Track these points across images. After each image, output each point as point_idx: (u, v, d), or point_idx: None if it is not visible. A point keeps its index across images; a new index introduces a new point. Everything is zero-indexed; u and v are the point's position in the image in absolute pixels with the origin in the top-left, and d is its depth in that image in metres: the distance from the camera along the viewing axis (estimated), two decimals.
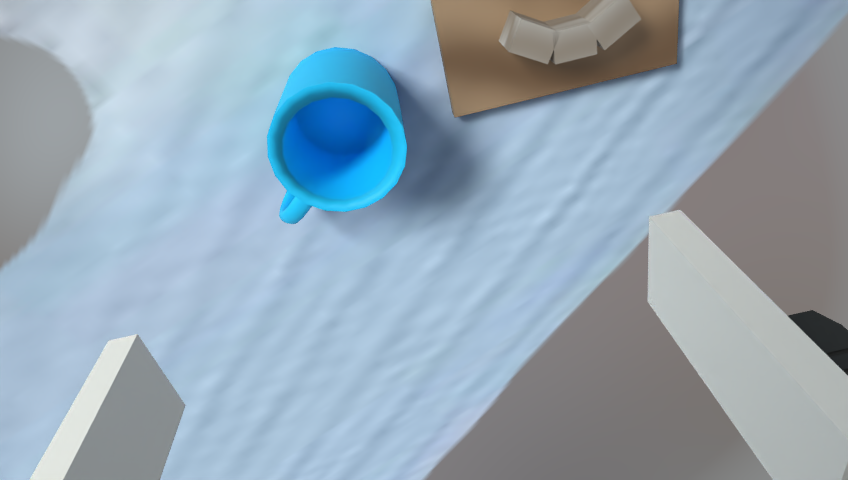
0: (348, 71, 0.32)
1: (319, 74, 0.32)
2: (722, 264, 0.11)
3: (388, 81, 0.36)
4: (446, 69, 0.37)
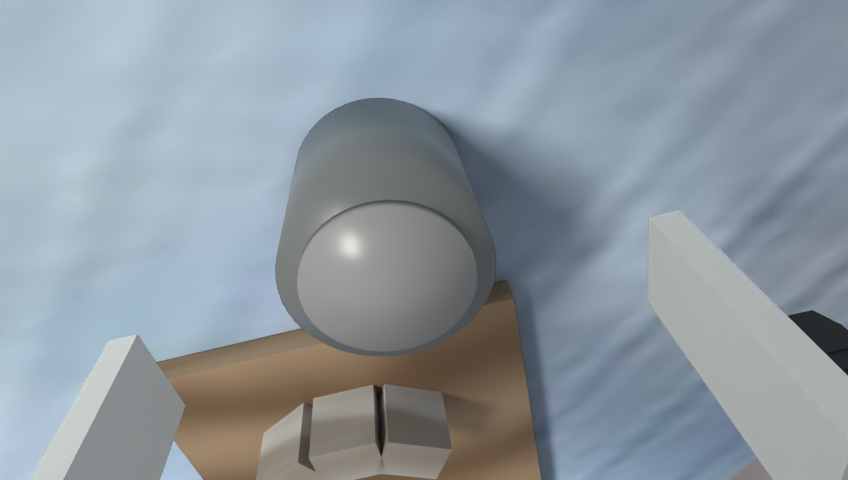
0: None
1: None
2: (722, 264, 0.11)
3: None
4: None
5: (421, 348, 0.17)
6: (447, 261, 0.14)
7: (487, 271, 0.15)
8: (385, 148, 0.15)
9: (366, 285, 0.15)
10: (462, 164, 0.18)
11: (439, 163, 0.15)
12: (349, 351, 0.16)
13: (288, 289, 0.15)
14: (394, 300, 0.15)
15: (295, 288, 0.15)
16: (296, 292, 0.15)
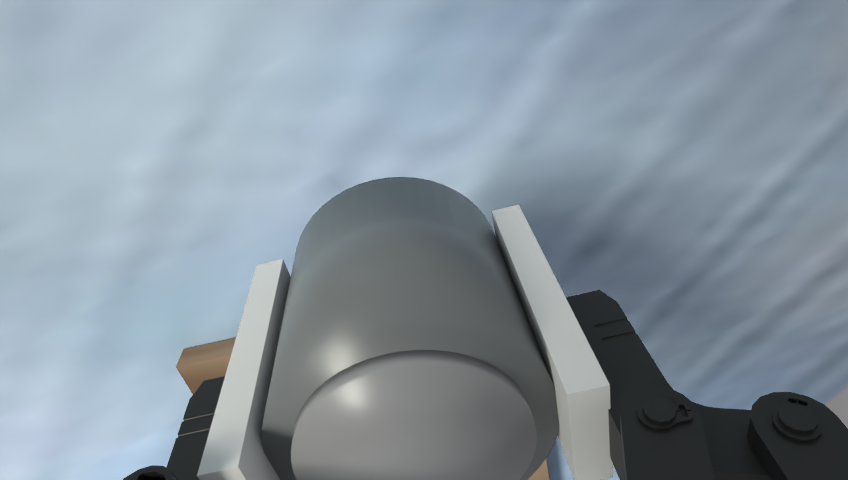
0: None
1: None
2: (532, 251, 0.13)
3: None
4: None
5: None
6: (497, 425, 0.10)
7: (547, 429, 0.11)
8: (412, 265, 0.11)
9: (385, 455, 0.11)
10: (505, 264, 0.14)
11: (483, 284, 0.11)
12: None
13: (279, 456, 0.11)
14: (422, 471, 0.11)
15: (289, 454, 0.11)
16: (290, 459, 0.11)
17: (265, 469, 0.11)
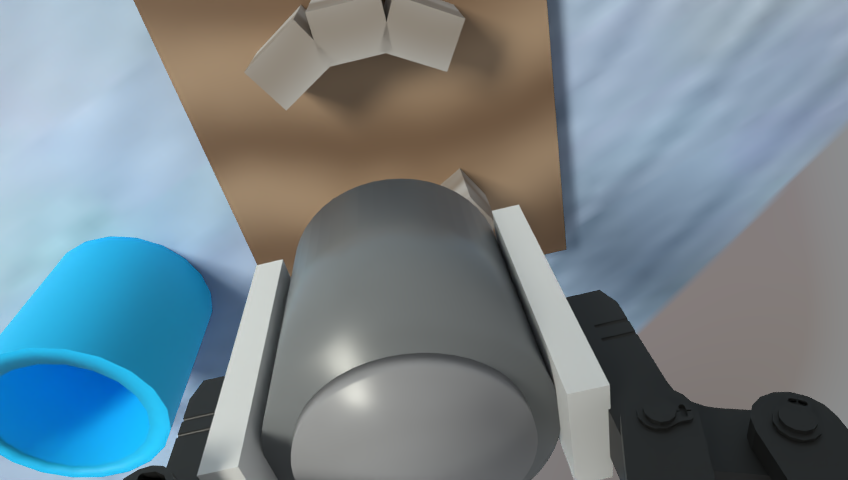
0: (85, 306, 0.23)
1: (37, 318, 0.23)
2: (532, 251, 0.13)
3: (173, 288, 0.27)
4: (258, 264, 0.28)
5: None
6: (497, 429, 0.10)
7: (549, 432, 0.11)
8: (412, 267, 0.11)
9: (385, 459, 0.11)
10: (506, 266, 0.14)
11: (484, 286, 0.11)
12: None
13: (279, 459, 0.11)
14: (423, 474, 0.11)
15: (289, 458, 0.11)
16: (290, 462, 0.11)
17: (265, 469, 0.11)
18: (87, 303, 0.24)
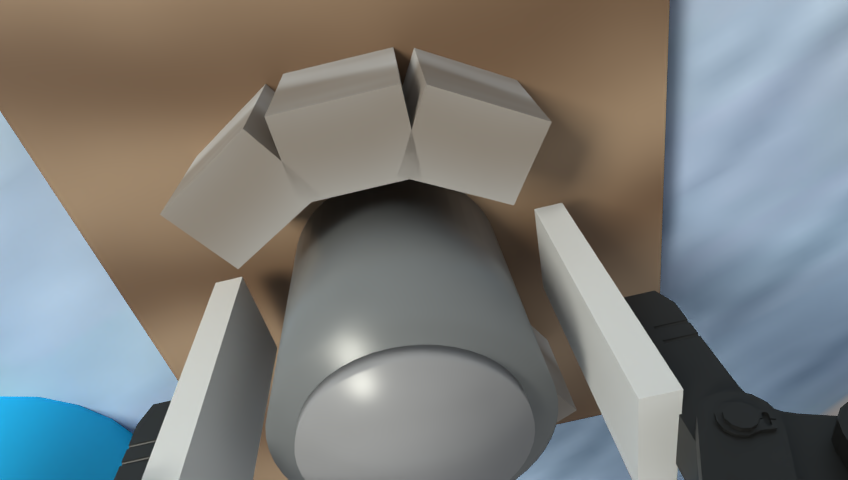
0: None
1: None
2: (582, 250, 0.13)
3: None
4: None
5: None
6: (496, 418, 0.11)
7: (546, 421, 0.12)
8: (412, 262, 0.11)
9: (387, 448, 0.11)
10: (504, 259, 0.14)
11: (483, 280, 0.11)
12: None
13: (283, 449, 0.11)
14: (423, 463, 0.11)
15: (292, 447, 0.11)
16: (293, 452, 0.11)
17: None
18: None
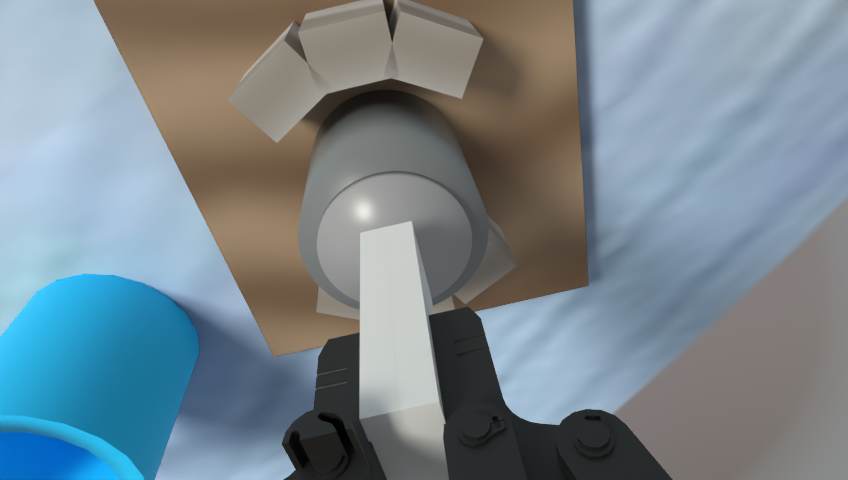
0: (50, 361, 0.21)
1: None
2: (410, 268, 0.13)
3: (153, 333, 0.24)
4: (249, 304, 0.26)
5: None
6: (445, 225, 0.17)
7: (481, 236, 0.18)
8: (392, 129, 0.17)
9: None
10: (460, 147, 0.20)
11: (439, 142, 0.17)
12: None
13: (308, 251, 0.17)
14: None
15: (314, 250, 0.17)
16: (315, 254, 0.17)
17: None
18: (53, 357, 0.21)
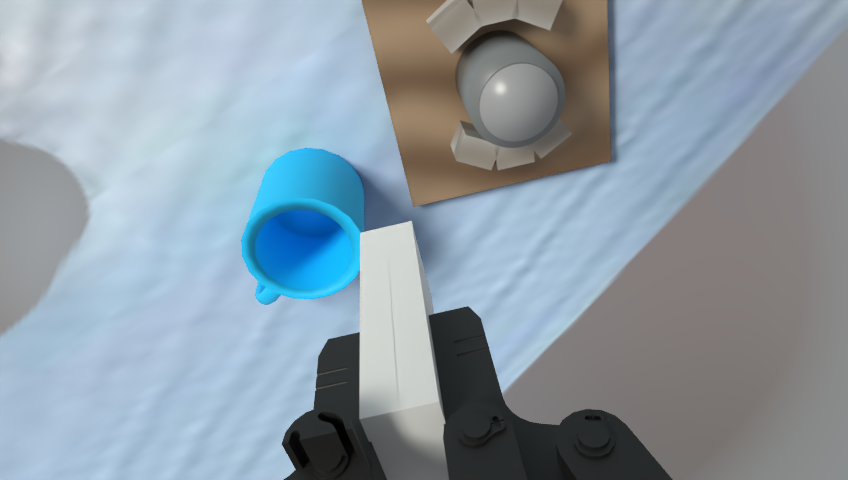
0: (313, 181, 0.37)
1: (287, 186, 0.36)
2: (410, 268, 0.13)
3: (352, 180, 0.41)
4: (404, 167, 0.42)
5: (527, 143, 0.35)
6: (545, 92, 0.33)
7: (561, 100, 0.34)
8: (516, 44, 0.34)
9: (509, 103, 0.33)
10: None
11: (539, 52, 0.34)
12: (495, 143, 0.35)
13: (473, 107, 0.34)
14: (520, 112, 0.34)
15: (476, 106, 0.34)
16: (477, 109, 0.34)
17: None
18: (314, 179, 0.37)
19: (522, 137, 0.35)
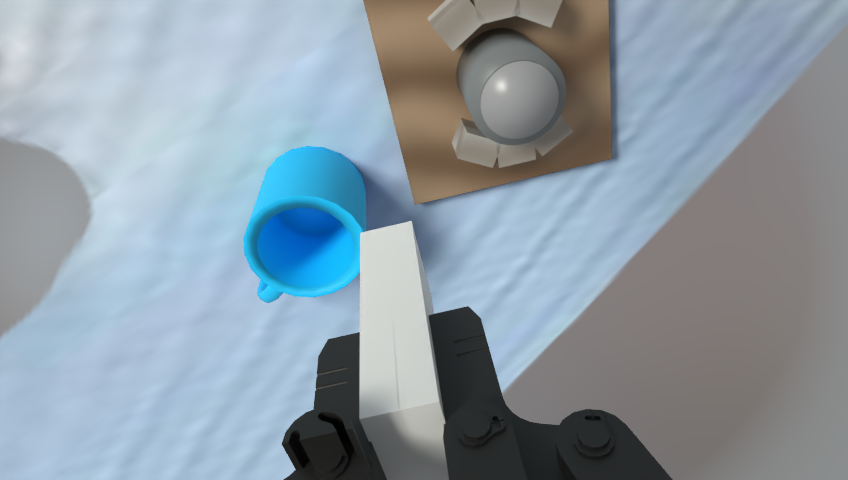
0: (315, 179, 0.37)
1: (289, 184, 0.36)
2: (410, 268, 0.13)
3: (353, 178, 0.41)
4: (406, 165, 0.42)
5: (528, 141, 0.35)
6: (546, 89, 0.33)
7: (562, 98, 0.34)
8: (517, 42, 0.34)
9: (510, 101, 0.33)
10: None
11: (540, 49, 0.34)
12: (496, 141, 0.35)
13: (474, 105, 0.34)
14: (521, 109, 0.34)
15: (477, 104, 0.34)
16: (477, 106, 0.34)
17: None
18: (315, 177, 0.37)
19: (523, 134, 0.35)
